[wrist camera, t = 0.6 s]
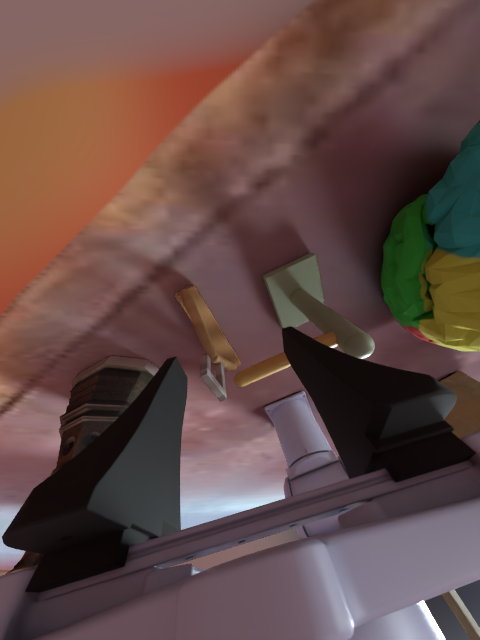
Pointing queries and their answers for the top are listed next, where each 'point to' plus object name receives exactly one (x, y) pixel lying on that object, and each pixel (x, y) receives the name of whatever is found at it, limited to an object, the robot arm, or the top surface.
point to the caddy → (466, 418)
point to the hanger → (209, 341)
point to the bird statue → (95, 411)
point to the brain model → (439, 257)
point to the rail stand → (305, 316)
